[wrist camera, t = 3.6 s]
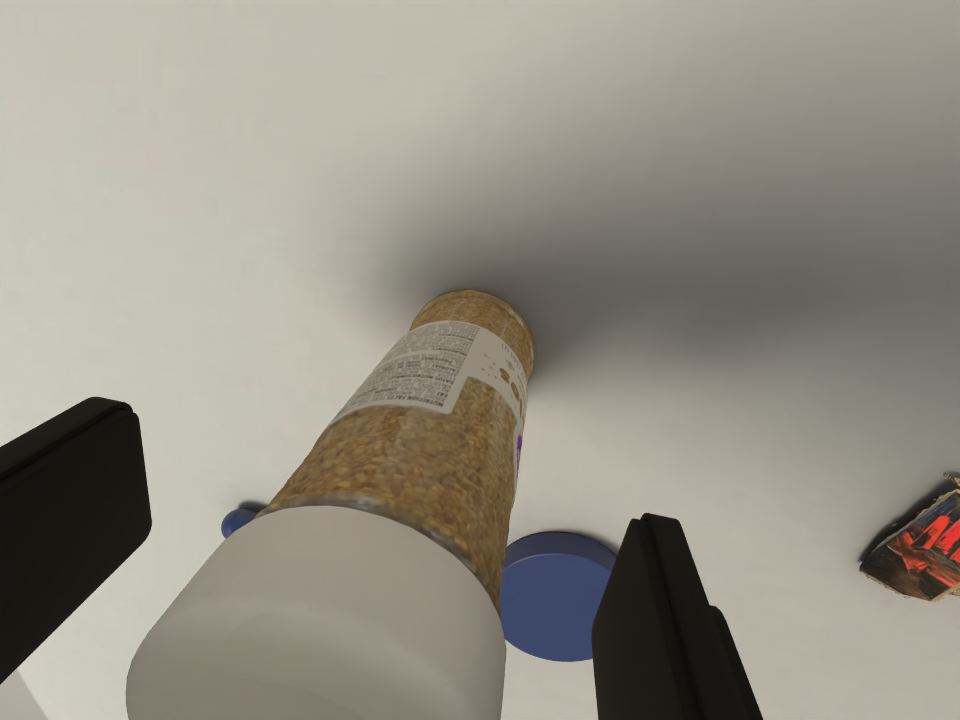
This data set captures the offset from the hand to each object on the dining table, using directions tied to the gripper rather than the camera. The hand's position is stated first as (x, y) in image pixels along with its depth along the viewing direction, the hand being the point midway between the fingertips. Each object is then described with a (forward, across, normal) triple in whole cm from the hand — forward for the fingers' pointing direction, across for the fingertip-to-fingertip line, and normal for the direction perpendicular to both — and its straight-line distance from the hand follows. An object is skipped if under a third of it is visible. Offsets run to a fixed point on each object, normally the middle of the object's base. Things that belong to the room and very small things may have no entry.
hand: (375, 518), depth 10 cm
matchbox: (+9, -19, +4) cm, 21 cm away
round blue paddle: (+9, -1, +10) cm, 14 cm away
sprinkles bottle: (+10, -1, 0) cm, 10 cm away
